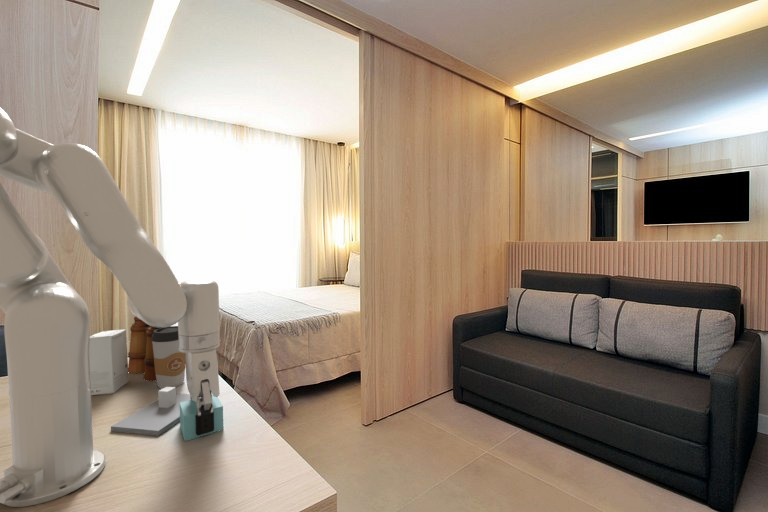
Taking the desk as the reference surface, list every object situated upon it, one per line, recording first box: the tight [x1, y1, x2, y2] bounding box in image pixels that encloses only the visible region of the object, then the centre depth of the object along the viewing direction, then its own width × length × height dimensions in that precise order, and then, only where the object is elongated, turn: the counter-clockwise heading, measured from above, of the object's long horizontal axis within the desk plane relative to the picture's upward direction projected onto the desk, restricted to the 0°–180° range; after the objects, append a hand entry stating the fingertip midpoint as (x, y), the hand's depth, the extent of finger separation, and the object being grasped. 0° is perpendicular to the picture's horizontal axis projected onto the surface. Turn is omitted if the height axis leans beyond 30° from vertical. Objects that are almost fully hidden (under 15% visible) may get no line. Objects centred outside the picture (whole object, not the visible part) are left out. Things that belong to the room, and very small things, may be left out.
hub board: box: [110, 386, 191, 437], centre depth 79 cm, size 16×11×5 cm
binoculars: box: [127, 315, 170, 382], centre depth 104 cm, size 18×8×20 cm, turn 57°
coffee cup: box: [151, 325, 186, 389], centre depth 95 cm, size 8×8×15 cm
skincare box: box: [89, 329, 130, 396], centre depth 93 cm, size 8×6×15 cm
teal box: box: [179, 394, 224, 442], centre depth 73 cm, size 7×7×6 cm
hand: (201, 423), depth 73 cm, fingers closed on teal box, 7 cm apart
